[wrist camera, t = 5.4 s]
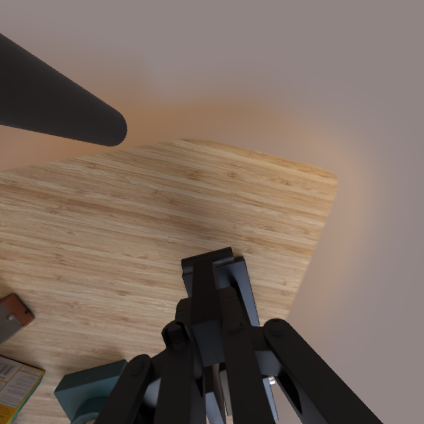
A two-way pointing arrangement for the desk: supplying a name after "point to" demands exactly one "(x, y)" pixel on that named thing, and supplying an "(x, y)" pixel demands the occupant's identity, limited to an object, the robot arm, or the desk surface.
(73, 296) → the desk surface
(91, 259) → the desk surface
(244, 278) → the lever bracket
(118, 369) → the panel
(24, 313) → the electronic device
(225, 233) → the desk surface
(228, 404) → the black pivoting lever
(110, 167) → the desk surface
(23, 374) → the crayon box
